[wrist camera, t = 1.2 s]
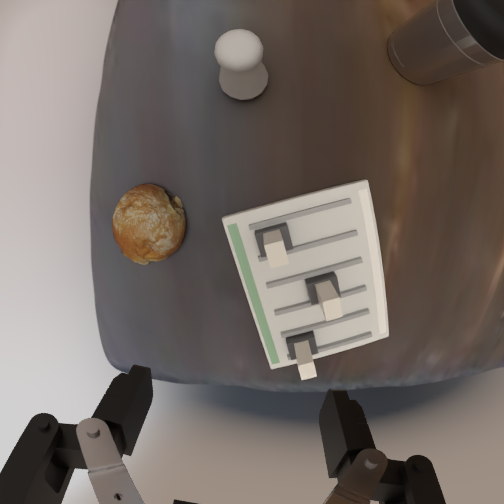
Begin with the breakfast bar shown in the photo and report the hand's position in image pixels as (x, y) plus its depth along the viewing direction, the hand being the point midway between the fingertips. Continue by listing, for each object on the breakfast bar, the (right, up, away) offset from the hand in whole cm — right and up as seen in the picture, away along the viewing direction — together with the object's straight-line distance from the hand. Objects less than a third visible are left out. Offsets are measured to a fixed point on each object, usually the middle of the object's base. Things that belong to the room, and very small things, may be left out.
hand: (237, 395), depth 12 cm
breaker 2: (+8, -7, +30) cm, 32 cm away
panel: (+9, +2, +29) cm, 30 cm away
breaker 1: (+3, +8, +25) cm, 27 cm away
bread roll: (-13, +10, +27) cm, 32 cm away
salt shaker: (0, +28, +21) cm, 35 cm away
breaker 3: (+10, +2, +27) cm, 29 cm away
